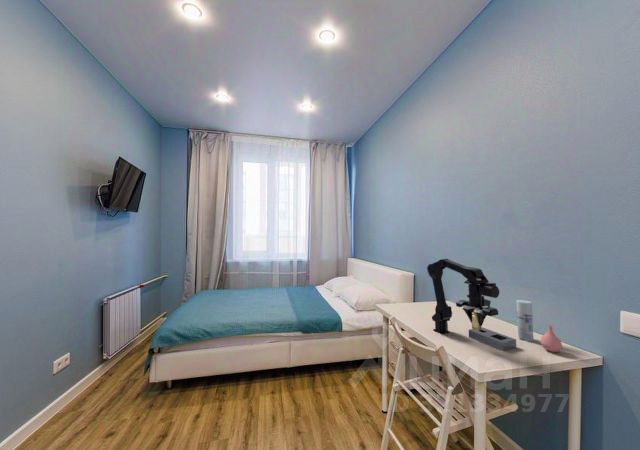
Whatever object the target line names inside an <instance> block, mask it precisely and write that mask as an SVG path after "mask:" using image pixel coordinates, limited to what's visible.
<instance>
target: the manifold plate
mask: <svg viewBox="0 0 640 450" xmlns="http://www.w3.org/2000/svg"><path fill="white" fill-rule="evenodd" d="M468 338H469V339H472V340H475V341H477V342H479V343H482V344H484V345H487V346H489V347H492V348H494V349H497V350H499V351H502V352H505V351H508V350H512V349H516V348H517V339H516V338H514V337H510V336H508V335H506V334H502V333H499V332H496V331H493V330H491V329H488V328H485V327H482V326H481V330H474V329H472V328H471V329H470V328H469V329H468Z"/></svg>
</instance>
